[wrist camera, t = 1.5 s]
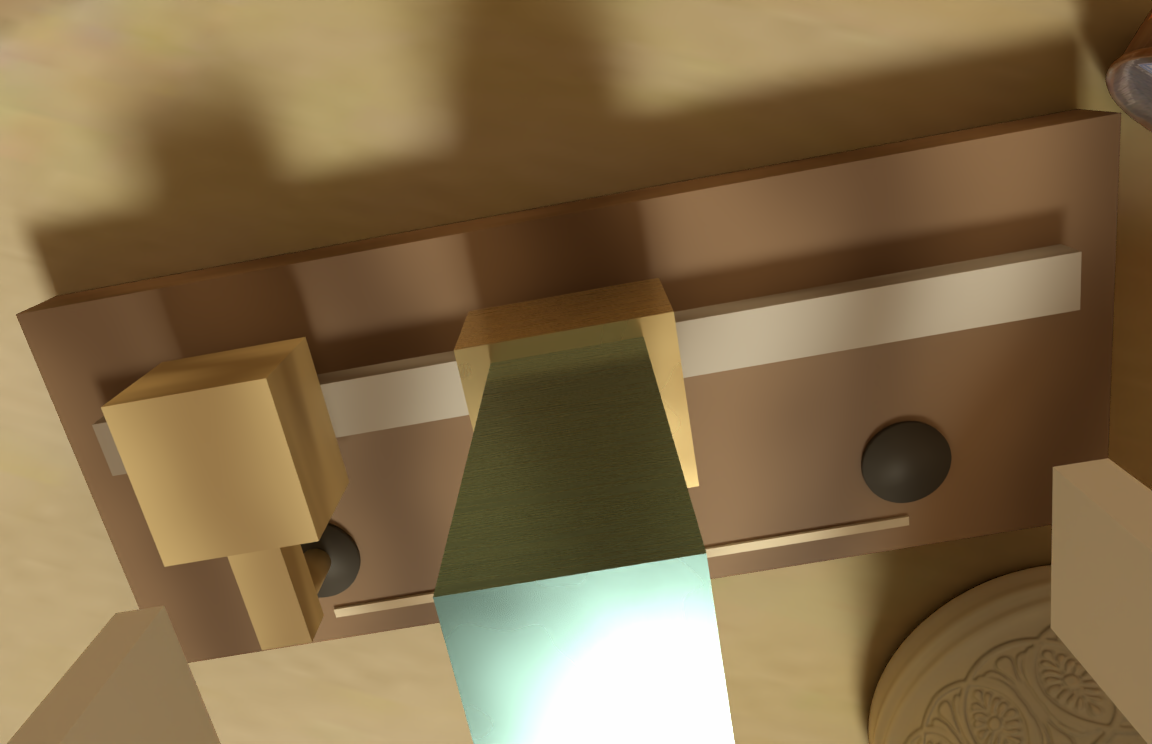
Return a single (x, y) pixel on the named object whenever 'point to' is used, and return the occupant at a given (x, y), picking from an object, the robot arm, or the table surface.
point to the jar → (993, 676)
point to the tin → (1134, 76)
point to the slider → (580, 530)
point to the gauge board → (708, 357)
